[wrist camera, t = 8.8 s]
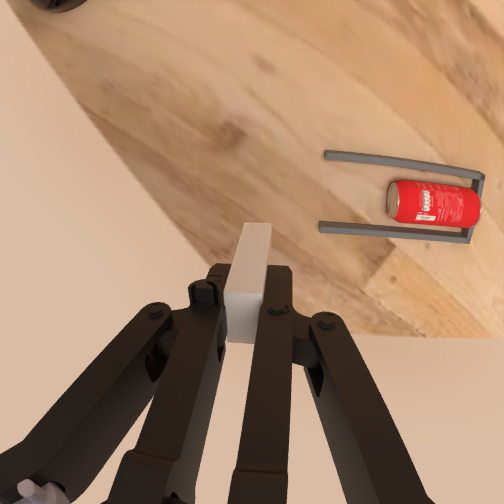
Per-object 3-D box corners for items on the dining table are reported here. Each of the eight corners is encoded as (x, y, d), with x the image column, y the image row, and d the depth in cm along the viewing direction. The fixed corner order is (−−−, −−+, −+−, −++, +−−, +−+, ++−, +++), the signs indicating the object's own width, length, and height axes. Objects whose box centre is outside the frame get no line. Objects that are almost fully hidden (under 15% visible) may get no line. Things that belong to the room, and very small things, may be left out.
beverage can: (396, 171, 34) (478, 182, 32) (384, 190, 39) (461, 198, 37) (401, 212, 32) (485, 220, 31) (388, 228, 37) (466, 233, 36)
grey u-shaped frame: (318, 226, 41) (319, 232, 39) (324, 149, 36) (326, 152, 35) (464, 238, 39) (469, 243, 37) (478, 171, 34) (485, 175, 32)
